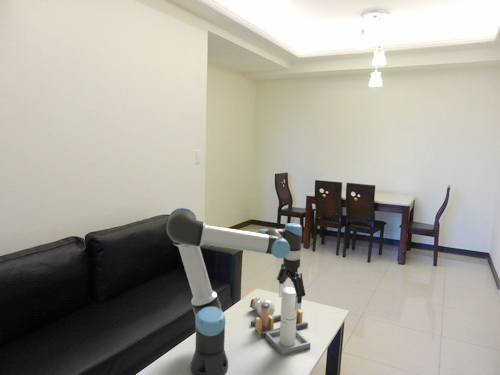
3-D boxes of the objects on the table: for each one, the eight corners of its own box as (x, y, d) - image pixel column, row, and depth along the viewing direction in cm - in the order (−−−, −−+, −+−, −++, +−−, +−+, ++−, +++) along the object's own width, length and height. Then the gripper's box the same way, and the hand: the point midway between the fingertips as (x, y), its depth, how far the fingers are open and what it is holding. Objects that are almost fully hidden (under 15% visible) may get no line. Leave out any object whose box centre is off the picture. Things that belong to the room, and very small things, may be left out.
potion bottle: (270, 324, 179) (252, 315, 191) (281, 309, 184) (263, 301, 196) (262, 312, 176) (244, 304, 187) (273, 298, 180) (255, 291, 192)
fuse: (262, 332, 169) (263, 307, 167) (258, 328, 173) (259, 303, 171) (270, 330, 171) (271, 305, 169) (266, 326, 174) (267, 301, 173)
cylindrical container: (294, 347, 156) (297, 294, 153) (278, 344, 158) (281, 292, 154) (295, 338, 163) (298, 288, 160) (280, 336, 165) (282, 286, 161)
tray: (281, 355, 151) (281, 350, 150) (265, 337, 164) (265, 332, 164) (310, 348, 157) (310, 343, 157) (292, 331, 170) (292, 326, 170)
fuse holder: (262, 337, 164) (262, 325, 163) (250, 324, 175) (251, 313, 174) (307, 327, 175) (308, 315, 174) (294, 315, 186) (294, 304, 186)
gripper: (315, 266, 146) (312, 313, 148) (284, 248, 168) (282, 290, 171) (300, 268, 142) (297, 316, 145) (271, 250, 165) (269, 292, 167)
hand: (289, 302), depth 158 cm, fingers open, 13 cm apart
